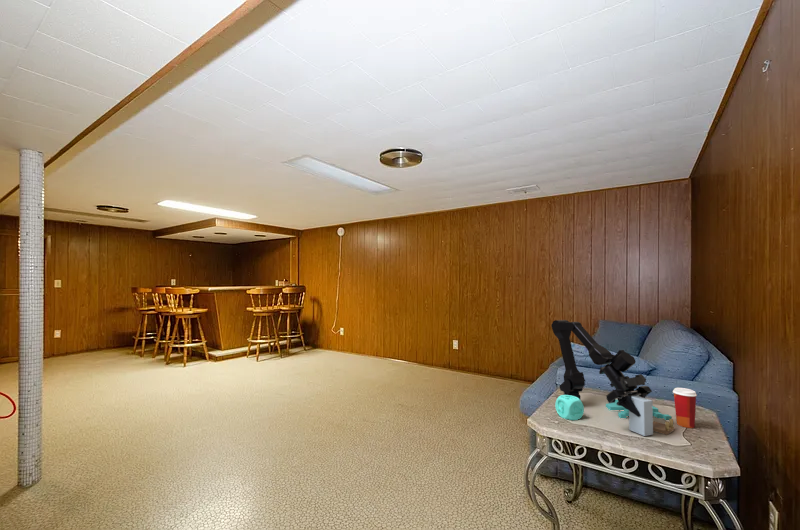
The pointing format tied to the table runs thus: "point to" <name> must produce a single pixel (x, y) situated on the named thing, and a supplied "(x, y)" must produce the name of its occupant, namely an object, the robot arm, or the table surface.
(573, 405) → the decorative dice
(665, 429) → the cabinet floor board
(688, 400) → the paper cup
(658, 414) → the alien figure
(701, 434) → the table surface
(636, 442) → the table surface
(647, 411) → the pale blue upright block
